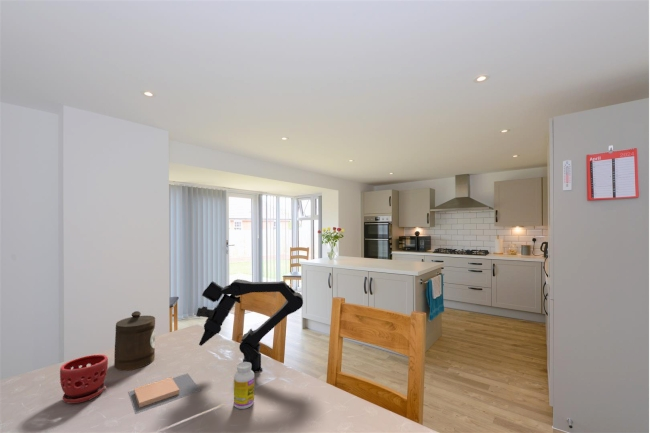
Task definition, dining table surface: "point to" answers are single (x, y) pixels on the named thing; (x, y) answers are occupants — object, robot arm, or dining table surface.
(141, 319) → the wooden container
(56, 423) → the dining table surface
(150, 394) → the tile
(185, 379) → the mat
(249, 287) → the robot arm
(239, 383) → the supplement bottle
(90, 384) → the plant pot
